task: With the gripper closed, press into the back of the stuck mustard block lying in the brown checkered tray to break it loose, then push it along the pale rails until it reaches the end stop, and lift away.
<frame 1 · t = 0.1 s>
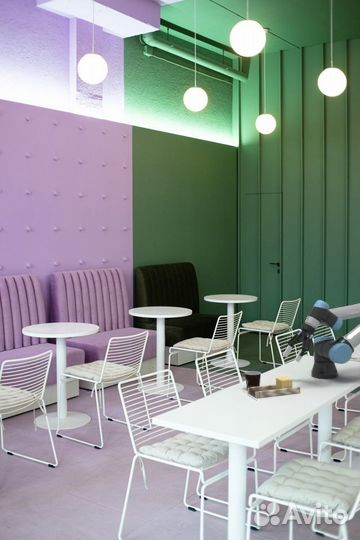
hand: (290, 358, 342), 15 cm above the table, tool tilted 35°, fingers open, 13 cm apart
brown checkered tray: (274, 395, 324), on the table
coffee mug: (253, 390, 336), on the table
mustard block: (284, 385, 326), point 5 cm above the table, slide at 0.0 cm
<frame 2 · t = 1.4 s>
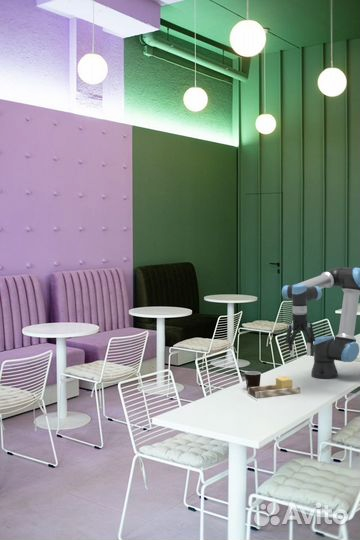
hand: (300, 355, 328), 20 cm above the table, tool pointing down, fingers open, 9 cm apart
nothing on the table moved.
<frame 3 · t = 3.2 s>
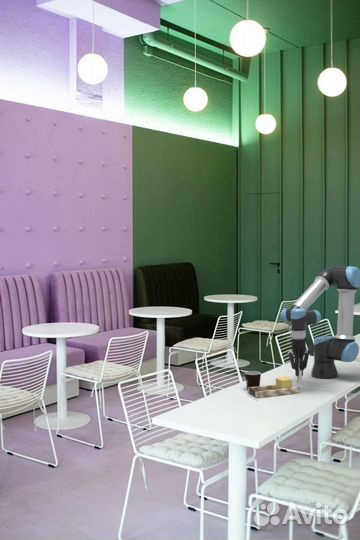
hand: (299, 382, 329), 6 cm above the table, tool pointing down, fingers closed
nothing on the table moved.
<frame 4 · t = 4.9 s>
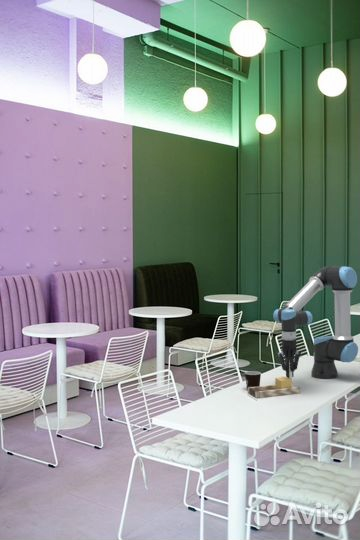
hand: (289, 383, 327), 5 cm above the table, tool pointing down, fingers closed
mustard block: (283, 385, 326), point 5 cm above the table, slide at 0.3 cm, touching gripper
everything else where it was.
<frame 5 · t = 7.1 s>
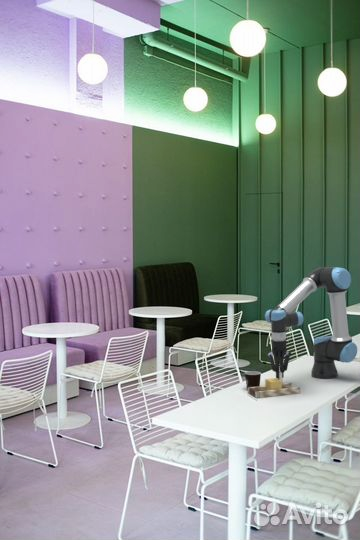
hand: (279, 384, 325), 6 cm above the table, tool pointing down, fingers closed
mustard block: (273, 386, 324), point 5 cm above the table, slide at 6.2 cm, touching gripper
everything else where it was.
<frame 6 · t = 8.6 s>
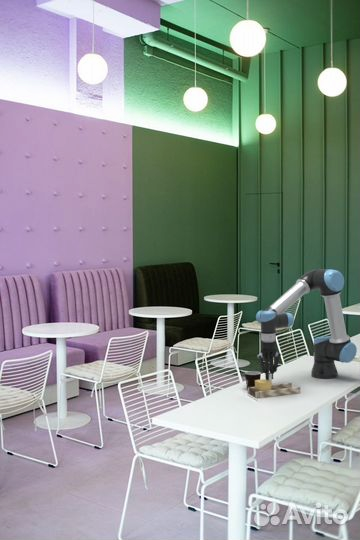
hand: (269, 385, 323), 5 cm above the table, tool pointing down, fingers closed
mustard block: (263, 387, 322), point 5 cm above the table, slide at 12.2 cm, touching gripper
everything else where it was.
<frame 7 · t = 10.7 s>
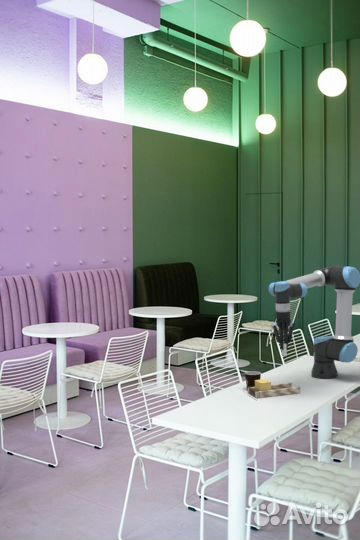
hand: (284, 355, 326), 20 cm above the table, tool pointing down, fingers closed
mustard block: (263, 387, 322), point 5 cm above the table, slide at 12.2 cm
everything else where it was.
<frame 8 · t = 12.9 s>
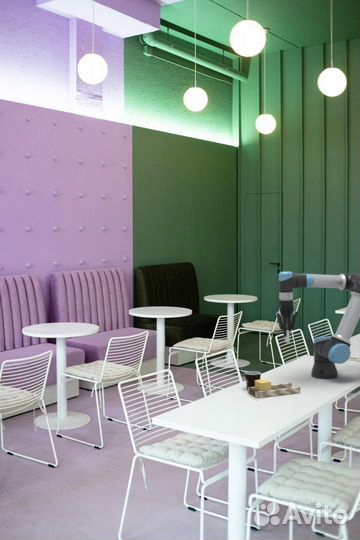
hand: (287, 342, 342), 24 cm above the table, tool pointing down, fingers closed
nothing on the table moved.
at the end: mustard block slide at 12.2 cm; coffee mug moved 0.2 cm from its start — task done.
